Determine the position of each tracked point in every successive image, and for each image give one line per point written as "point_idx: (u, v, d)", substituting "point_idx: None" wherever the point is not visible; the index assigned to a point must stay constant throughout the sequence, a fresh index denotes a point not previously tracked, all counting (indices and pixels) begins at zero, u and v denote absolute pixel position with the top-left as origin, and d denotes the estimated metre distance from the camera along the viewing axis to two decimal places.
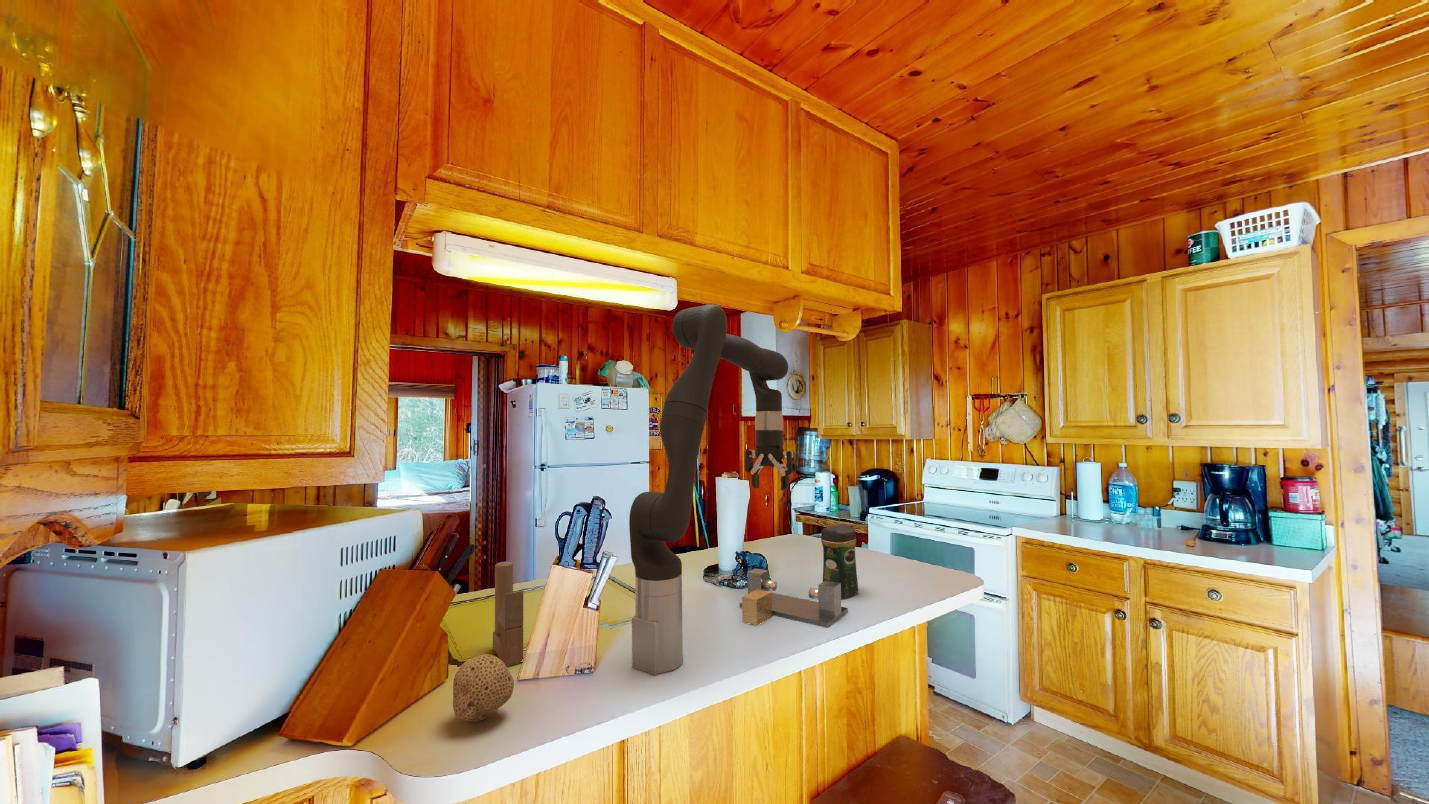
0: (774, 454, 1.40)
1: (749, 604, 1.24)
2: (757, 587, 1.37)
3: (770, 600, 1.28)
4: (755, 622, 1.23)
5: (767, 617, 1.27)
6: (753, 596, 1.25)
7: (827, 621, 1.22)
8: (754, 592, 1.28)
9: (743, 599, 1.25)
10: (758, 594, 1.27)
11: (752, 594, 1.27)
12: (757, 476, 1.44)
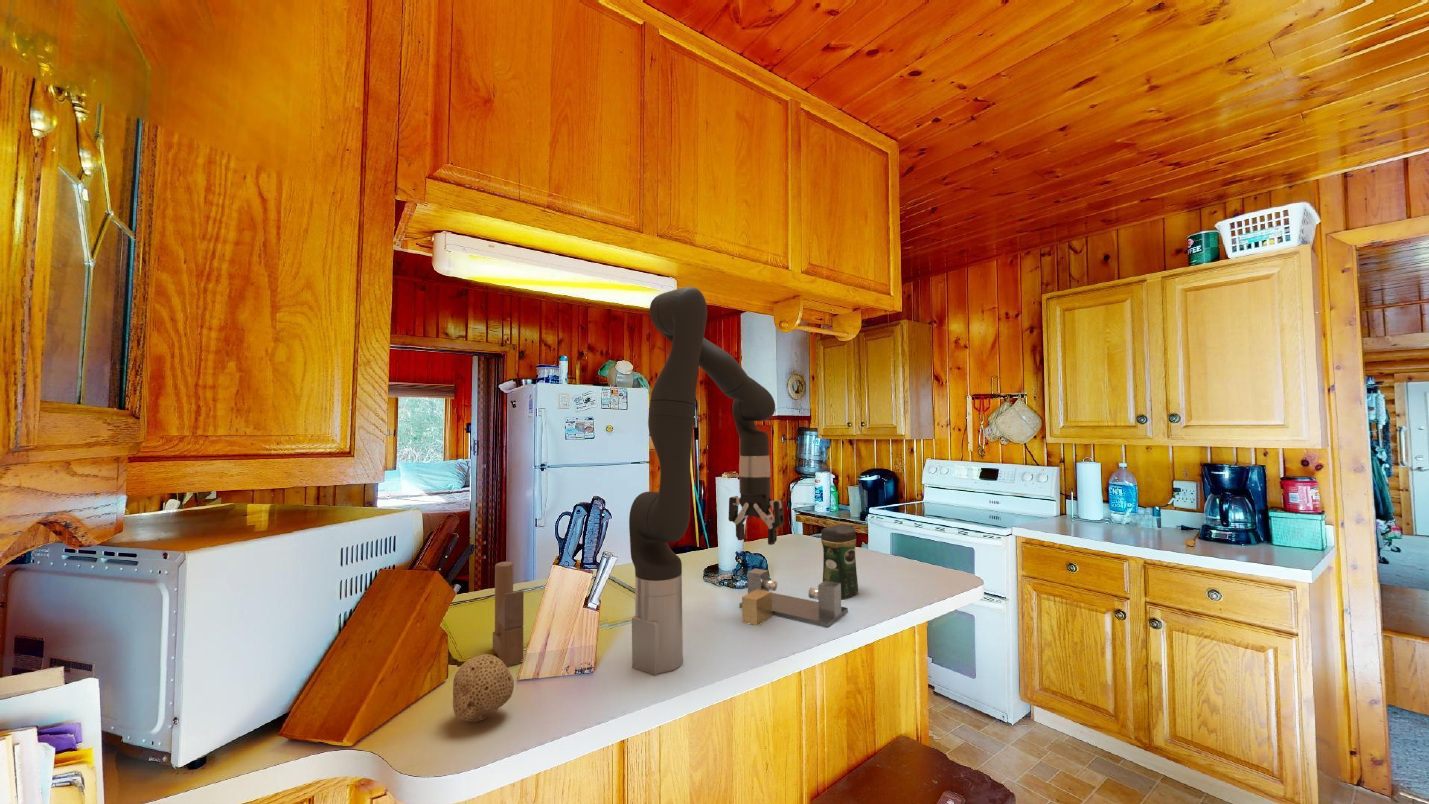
0: (760, 504, 1.26)
1: (749, 604, 1.24)
2: (757, 587, 1.37)
3: (770, 600, 1.28)
4: (755, 622, 1.23)
5: (767, 617, 1.27)
6: (753, 596, 1.25)
7: (827, 621, 1.22)
8: (754, 592, 1.28)
9: (743, 599, 1.25)
10: (757, 594, 1.27)
11: (752, 594, 1.27)
12: (742, 526, 1.30)
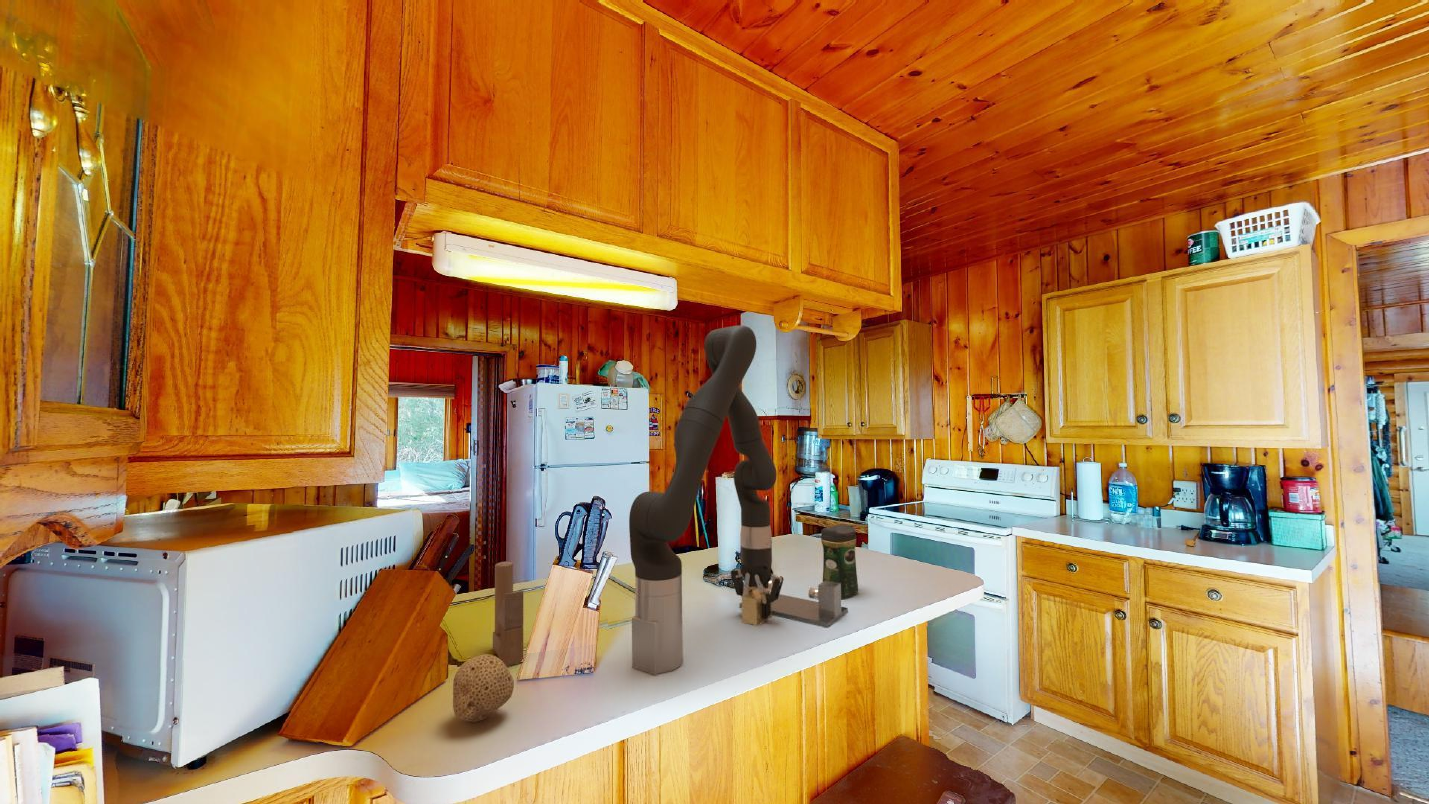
0: (762, 576, 1.25)
1: (748, 604, 1.24)
2: None
3: None
4: (755, 622, 1.23)
5: None
6: (753, 596, 1.25)
7: (827, 621, 1.22)
8: (754, 592, 1.28)
9: (743, 599, 1.25)
10: (757, 594, 1.27)
11: (752, 594, 1.27)
12: None
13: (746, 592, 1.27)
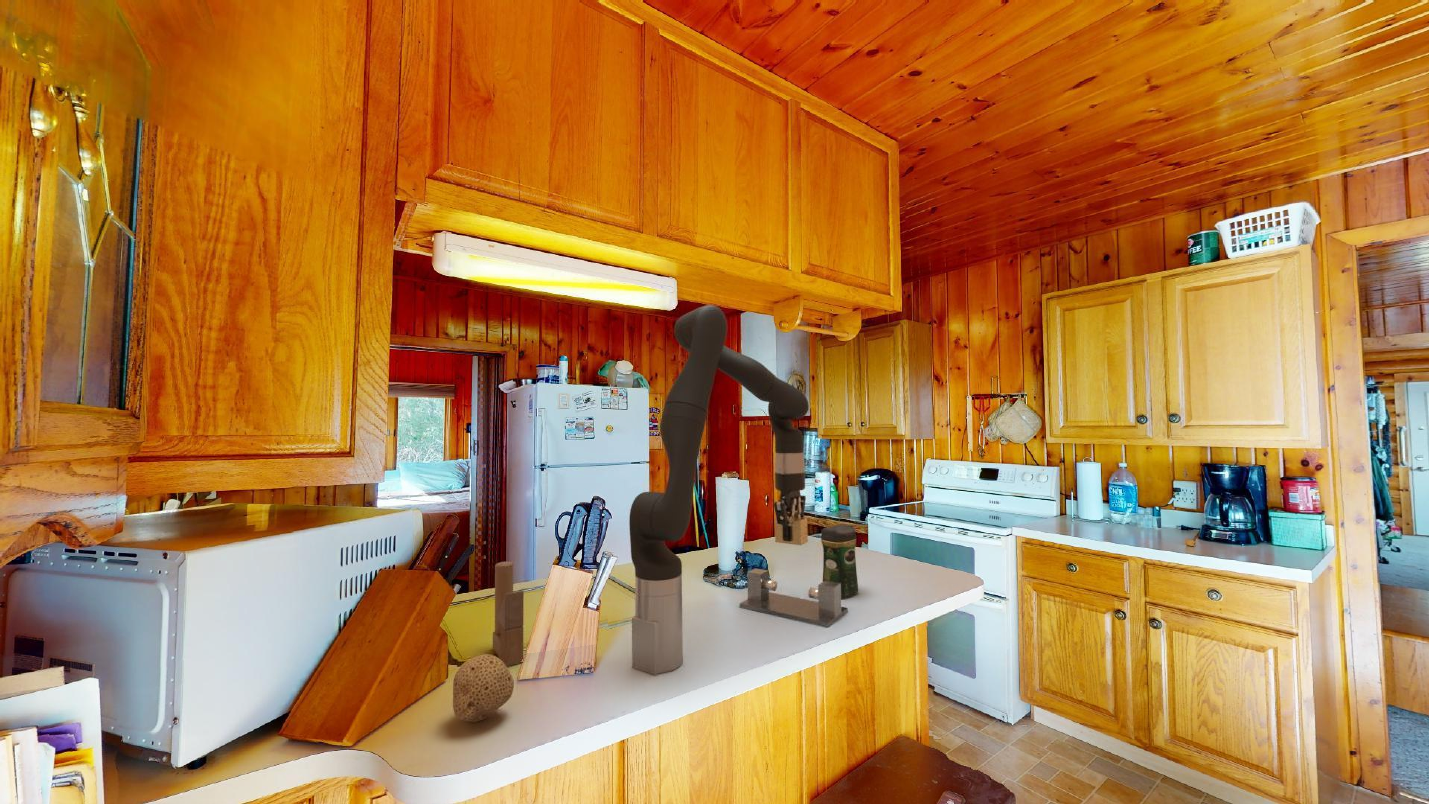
0: None
1: None
2: (757, 587, 1.37)
3: (797, 528, 1.30)
4: None
5: (792, 542, 1.31)
6: None
7: (827, 621, 1.22)
8: (796, 517, 1.34)
9: None
10: None
11: None
12: None
13: None
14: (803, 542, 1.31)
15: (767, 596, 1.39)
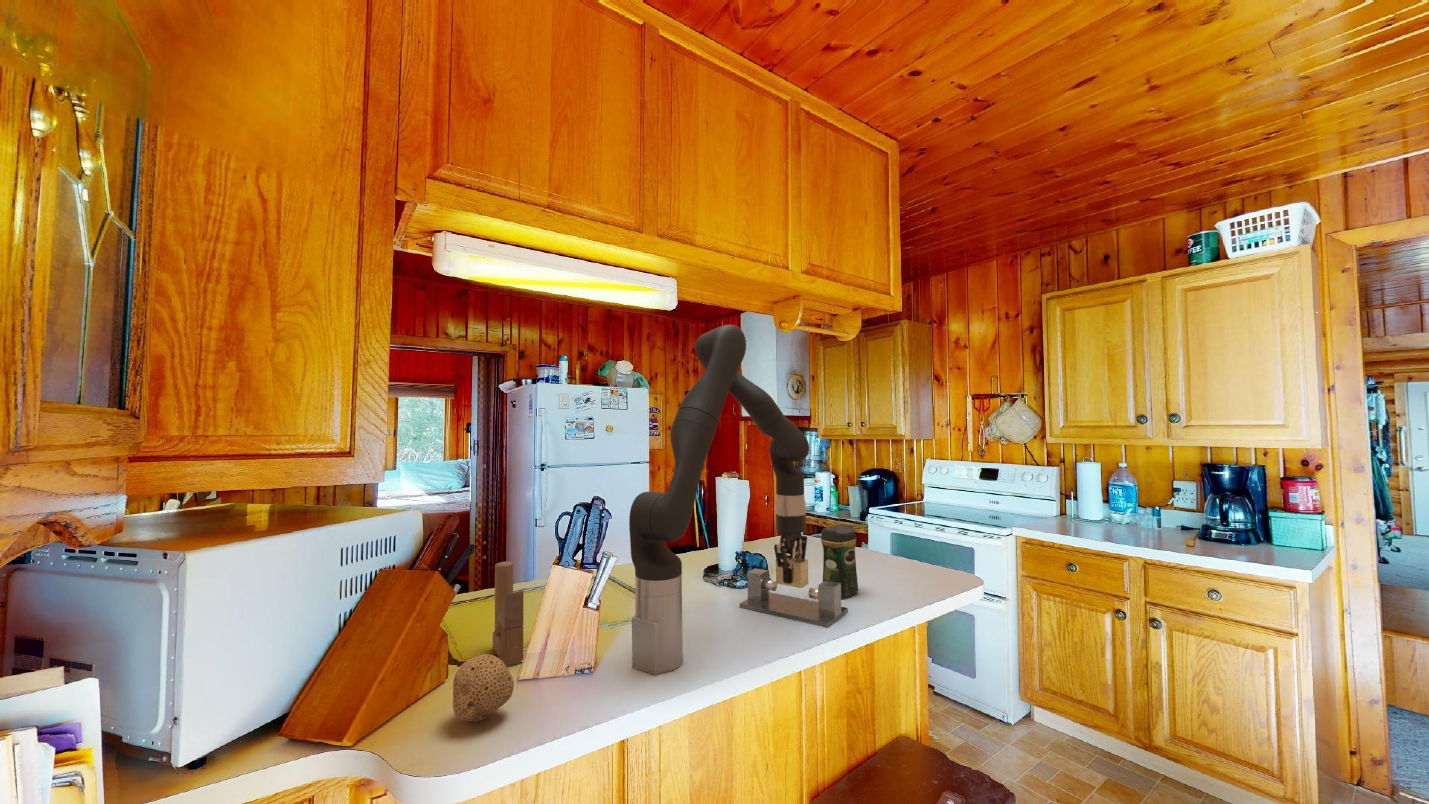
0: None
1: None
2: (757, 587, 1.37)
3: (798, 570, 1.30)
4: None
5: (793, 584, 1.31)
6: None
7: (827, 621, 1.22)
8: (796, 559, 1.34)
9: None
10: None
11: None
12: None
13: None
14: (803, 585, 1.31)
15: (767, 596, 1.39)
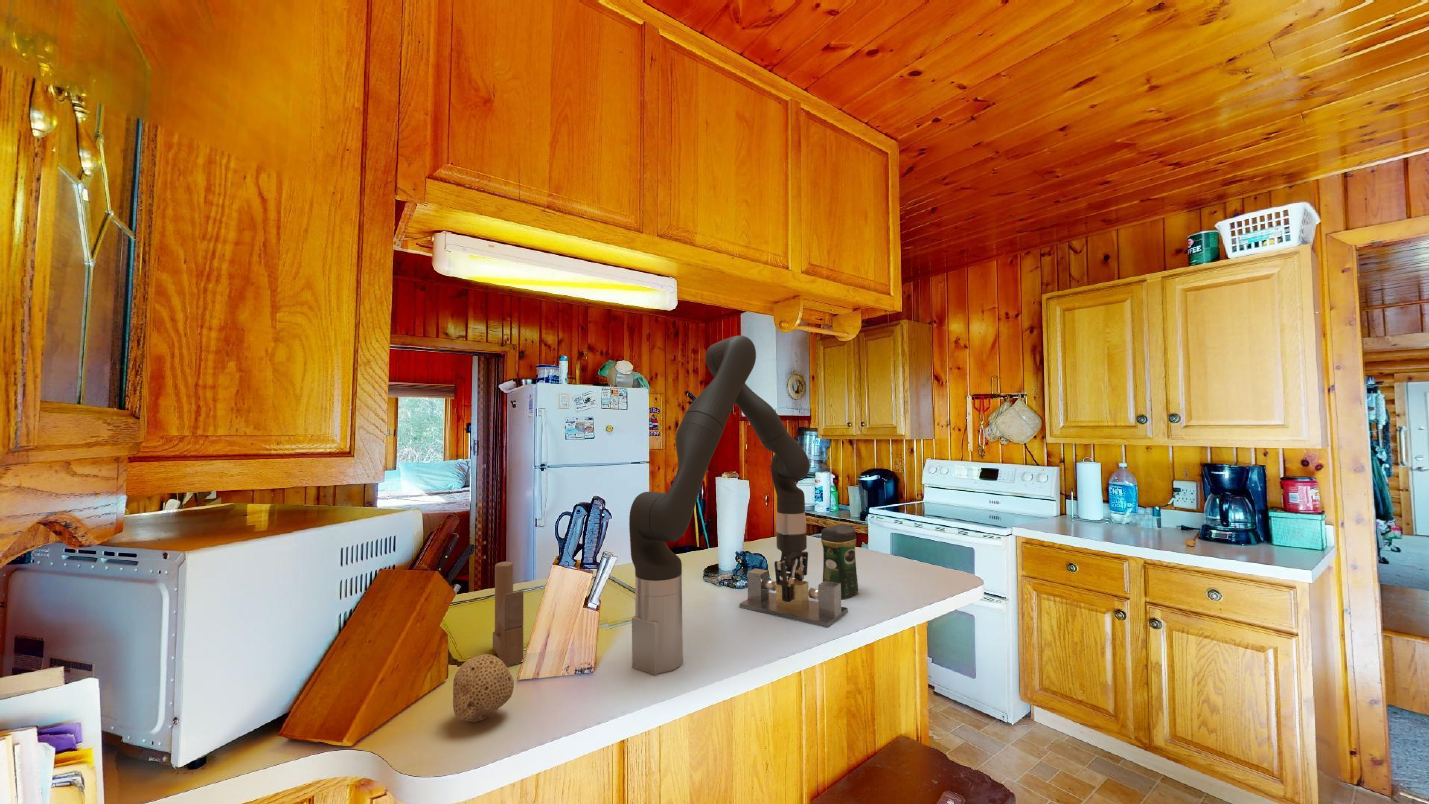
0: None
1: None
2: (757, 587, 1.37)
3: (798, 593, 1.30)
4: None
5: (793, 606, 1.30)
6: None
7: (827, 621, 1.22)
8: (797, 580, 1.34)
9: None
10: (791, 581, 1.33)
11: None
12: None
13: None
14: (804, 607, 1.30)
15: (767, 596, 1.39)
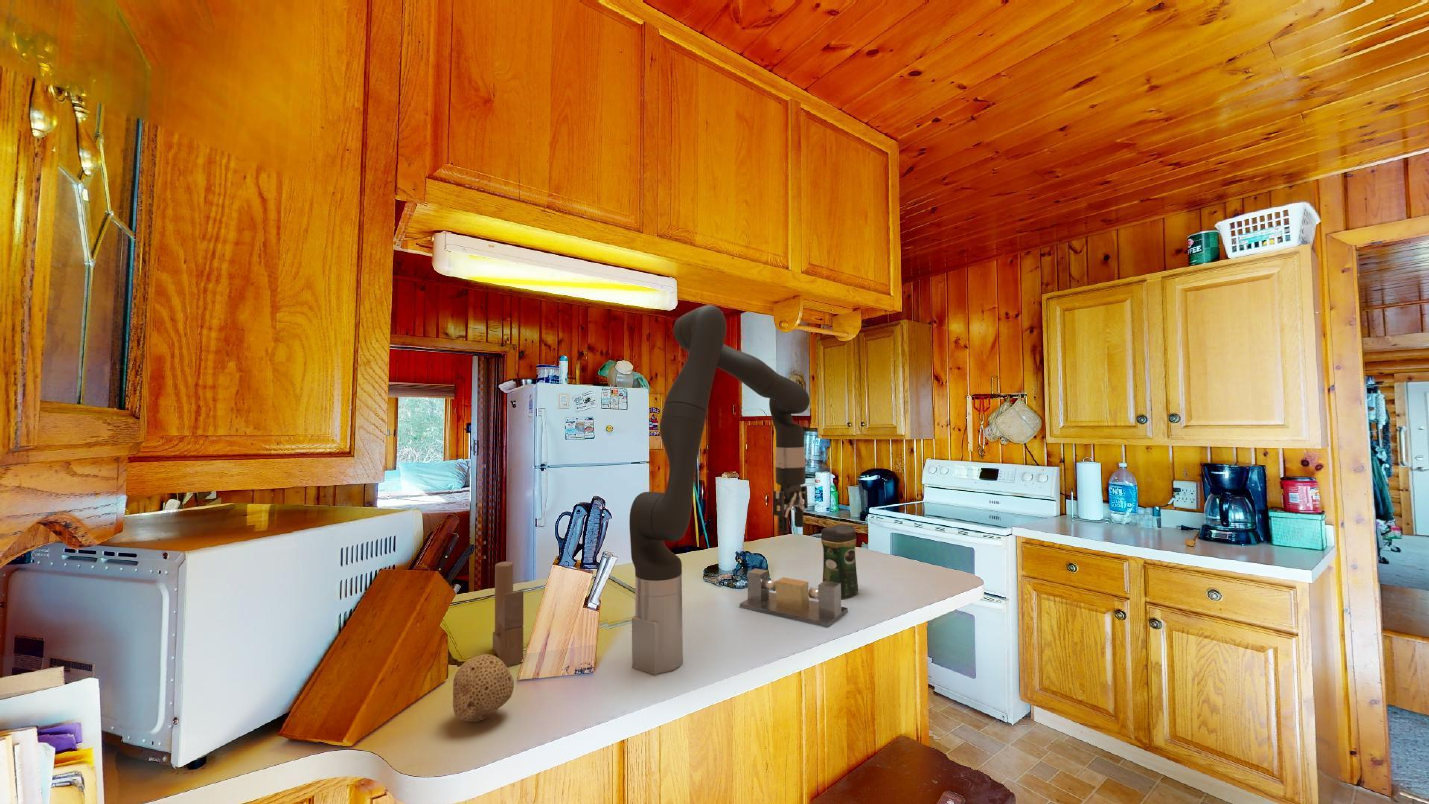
0: None
1: None
2: (757, 587, 1.37)
3: (798, 593, 1.30)
4: None
5: (793, 606, 1.30)
6: (784, 580, 1.34)
7: (827, 621, 1.22)
8: (797, 580, 1.34)
9: None
10: (791, 581, 1.33)
11: (790, 580, 1.34)
12: (798, 514, 1.37)
13: None
14: (804, 607, 1.30)
15: (767, 596, 1.39)
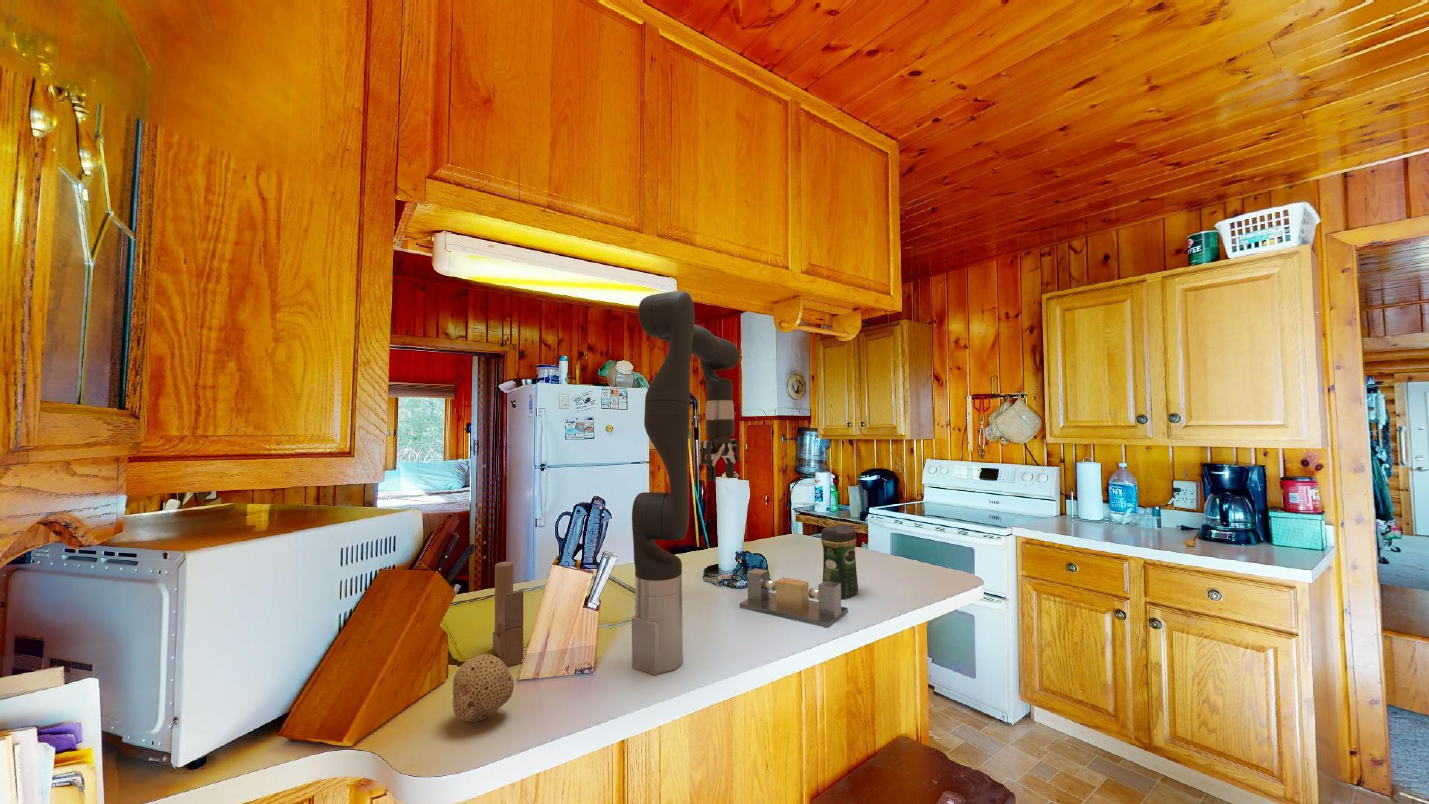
0: None
1: None
2: (757, 587, 1.37)
3: (798, 593, 1.30)
4: None
5: (793, 606, 1.30)
6: (784, 580, 1.34)
7: (827, 621, 1.22)
8: (797, 580, 1.34)
9: None
10: (791, 581, 1.33)
11: (790, 580, 1.34)
12: (729, 466, 1.44)
13: None
14: (804, 607, 1.30)
15: (767, 596, 1.39)
